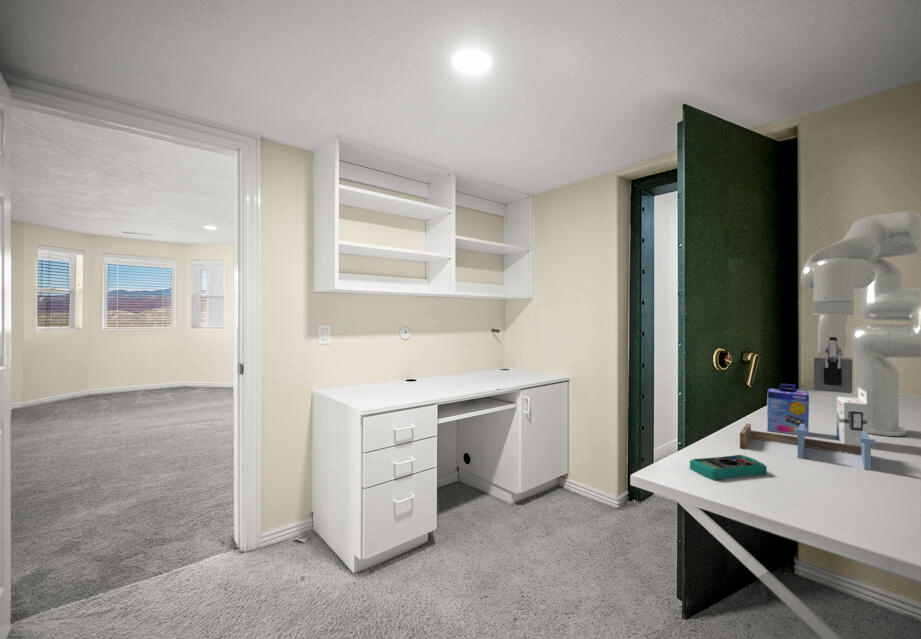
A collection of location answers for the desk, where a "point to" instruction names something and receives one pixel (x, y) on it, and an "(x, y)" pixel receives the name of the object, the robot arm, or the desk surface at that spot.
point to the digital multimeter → (728, 467)
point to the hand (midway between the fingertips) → (832, 382)
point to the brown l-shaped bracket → (794, 441)
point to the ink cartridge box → (787, 409)
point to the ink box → (852, 418)
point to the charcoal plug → (846, 376)
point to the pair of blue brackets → (864, 440)
